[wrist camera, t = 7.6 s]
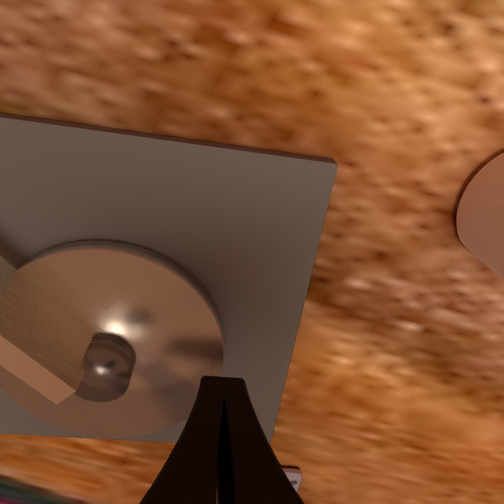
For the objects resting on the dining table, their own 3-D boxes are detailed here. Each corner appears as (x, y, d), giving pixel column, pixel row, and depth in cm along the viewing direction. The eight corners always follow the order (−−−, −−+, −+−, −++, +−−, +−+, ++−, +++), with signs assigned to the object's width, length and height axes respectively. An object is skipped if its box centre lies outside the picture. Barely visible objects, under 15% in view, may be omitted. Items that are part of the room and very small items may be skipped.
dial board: (267, 434, 27) (269, 449, 26) (-64, 416, 25) (-77, 431, 24) (332, 158, 19) (338, 164, 18) (-149, 91, 17) (-174, 93, 16)
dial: (267, 352, 22) (277, 428, 18) (114, 448, 25) (89, 536, 21) (37, 117, 16) (-37, 140, 12) (-132, 277, 19) (-245, 347, 15)
